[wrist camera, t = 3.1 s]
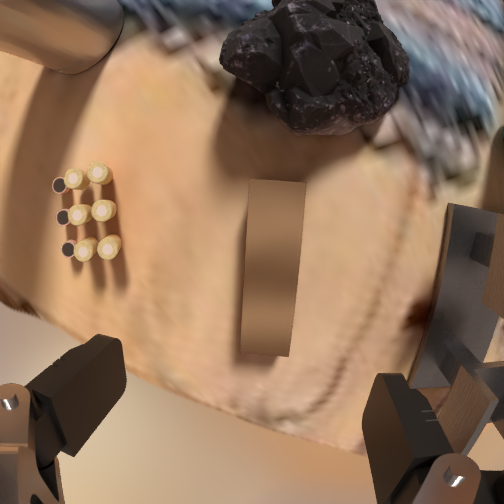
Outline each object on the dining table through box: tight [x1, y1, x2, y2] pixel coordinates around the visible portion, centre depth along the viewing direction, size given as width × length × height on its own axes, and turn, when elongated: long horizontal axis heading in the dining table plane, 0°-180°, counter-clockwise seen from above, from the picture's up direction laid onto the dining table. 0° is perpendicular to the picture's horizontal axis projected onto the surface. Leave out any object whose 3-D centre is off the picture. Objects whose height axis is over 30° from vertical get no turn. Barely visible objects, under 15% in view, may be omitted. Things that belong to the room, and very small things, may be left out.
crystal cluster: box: [219, 0, 410, 136], centre depth 17 cm, size 13×14×10 cm
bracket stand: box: [408, 203, 504, 456], centre depth 17 cm, size 17×8×12 cm, turn 176°
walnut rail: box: [240, 179, 306, 357], centre depth 22 cm, size 12×4×4 cm, turn 176°
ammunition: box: [52, 161, 122, 262], centre depth 23 cm, size 5×7×8 cm
